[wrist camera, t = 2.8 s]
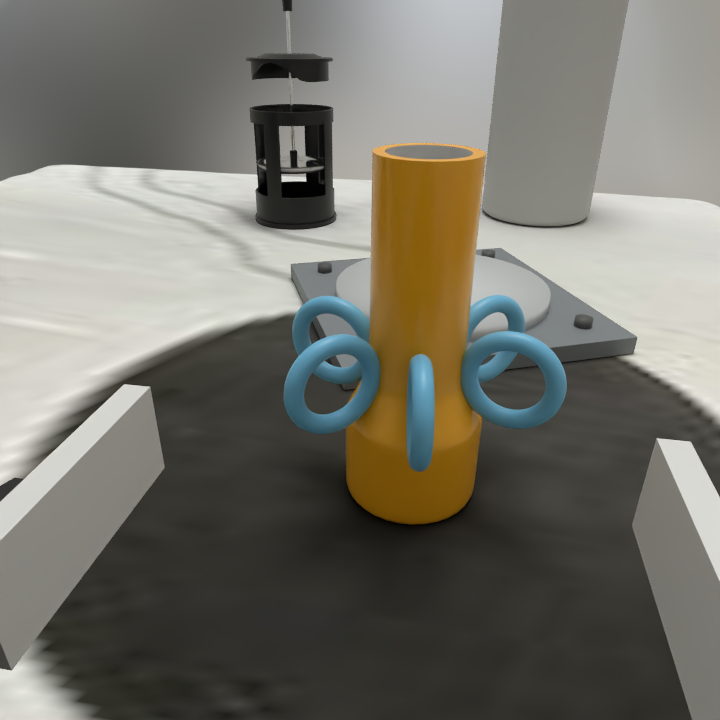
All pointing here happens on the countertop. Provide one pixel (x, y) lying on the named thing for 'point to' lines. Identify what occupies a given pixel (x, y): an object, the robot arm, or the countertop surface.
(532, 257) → the countertop surface
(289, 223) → the french press
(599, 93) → the cylinder vase
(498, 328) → the grey plate with disc
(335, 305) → the orange ringed tube
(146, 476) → the robot arm
